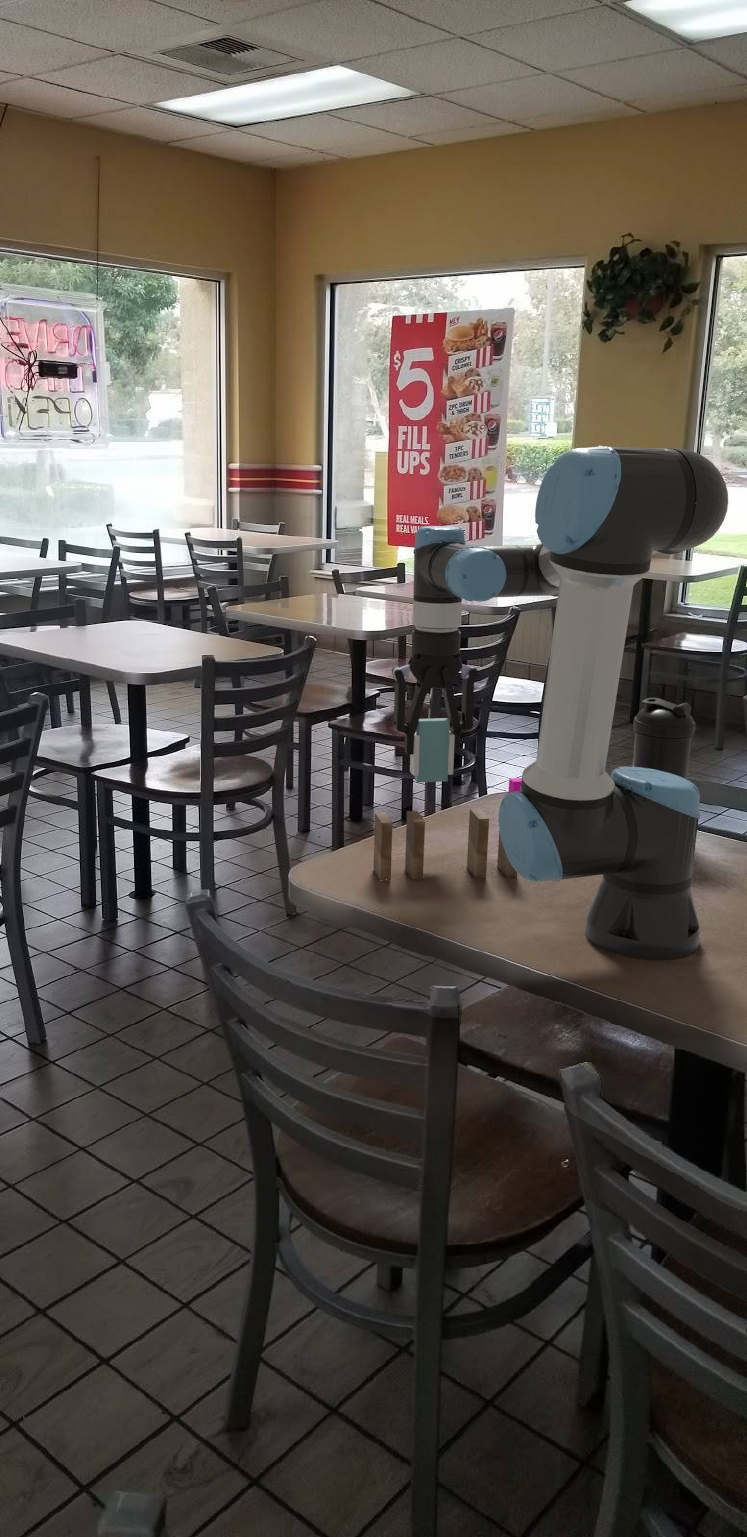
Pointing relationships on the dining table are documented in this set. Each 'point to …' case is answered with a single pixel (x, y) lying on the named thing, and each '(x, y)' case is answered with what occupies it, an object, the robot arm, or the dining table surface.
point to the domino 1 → (382, 846)
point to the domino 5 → (504, 861)
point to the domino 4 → (477, 843)
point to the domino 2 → (414, 845)
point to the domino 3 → (433, 749)
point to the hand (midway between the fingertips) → (431, 772)
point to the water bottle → (663, 736)
